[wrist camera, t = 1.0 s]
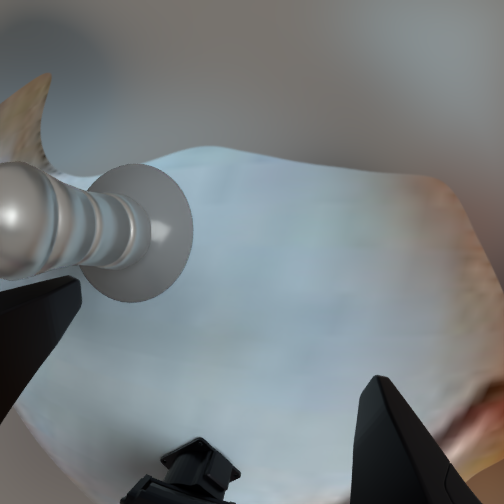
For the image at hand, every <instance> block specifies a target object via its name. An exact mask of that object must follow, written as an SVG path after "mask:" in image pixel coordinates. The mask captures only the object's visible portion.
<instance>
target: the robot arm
mask: <svg viewBox="0 0 504 504" xmlns="http://www.w3.org/2000/svg"><path fill="white" fill-rule="evenodd" d="M81 304H82V296H81V284H80V281H79V280H78V279H76V278H74V277H72V276H69V275H67V276H63V277H59V278H54V279H50V280H46V281H42V282H38V283H34V284H30V285H26V286H21V287H17V288H13V289H9V290H5V291H1V292H0V424H1V423H2V421H3V419H4V418H5V417H6V415H7V414H8V412H9V410H10V409H11V408H12V406H13V405H14V403H15V402H16V400H17V399H18V397H19V396H20V394H21V393H22V391H23V390H24V389H25V387H26V386H27V384H28V383H29V381H30V380H31V379H32V377H33V376H34V375H35V373H36V372H37V370H38V369H39V368H40V366H41V365H42V364H43V362H44V361H45V360H46V358H47V357H48V356H49V354H50V353H51V352H52V350H53V349H54V348H55V346H56V345H57V344H58V342H59V341H60V339H61V338H62V336H63V334H64V333H65V331H66V330H67V328H68V326H69V325H70V323H71V322H72V320H73V319H74V317H75V315H76V314H77V312H78V311H79V309H80V307H81ZM199 442H202V443H199ZM164 460H165V461H164ZM160 461H161V463H162V464H163V465H164V466H165V467H167V468H168V469H169V471H168V473H167V475H166V477H165V479H164V481H160V480H157V479H155V478H152V476H150V475H147V474H146V475H145V476H144V478H141V479H140V480H139V482H138V483H137V484H136V485H135V486H134V487H133V488H132V489H131V490H130V491H129V492H128V494H127V496H125V497H123V498H122V499H121V500H120V504H236V503H234V502H226V501H223V499H224V494H225V491H226V490H227V489H228V485H229V482H232V481H234V480H236V479H238V478H240V476H241V472H240V471H239V470H237V469H236V468H235V467H234V466H233V465H232V464H231V463H230V462H229V461H228V460H227V459H226V458H225V457H223V456H222V455H221V454H220V453H219V452H218V451H216V450H215V449H214V448H213V447H212V446H211V445H210V444H209V443H207V442H206V441H205V440H204V439H203V438H198V439H196V440H194V441H192V442H190V443H188V444H186V445H185V446H183V447H181V448H179V449H177V450H175V451H173V452H171V453H169V454H167V455H165V456H163V457H162V458H161V460H160ZM235 474H237V475H235ZM350 504H482V503H481V502H480V501H479V499H478V498H477V497H476V496H475V495H474V493H473V492H472V491H471V489H470V488H469V487H468V486H467V485H466V483H465V482H464V480H463V479H462V478H461V476H460V475H459V474H458V472H457V471H456V469H455V468H454V467H453V465H452V464H451V463H450V461H449V460H448V458H447V457H446V455H445V454H444V453H443V451H442V450H441V448H440V447H439V446H438V444H437V443H436V441H435V440H434V439H433V437H432V436H431V434H430V433H429V432H428V430H427V429H426V427H425V426H424V425H423V423H422V422H421V421H420V419H419V418H418V417H417V415H416V414H415V412H414V411H413V410H412V408H411V407H410V406H409V404H408V403H407V402H406V400H405V399H404V398H403V396H402V395H401V394H400V392H399V391H398V390H397V388H396V387H395V386H394V384H393V383H392V382H391V380H390V379H389V378H388V377H385V376H380V375H375V376H374V377H373V378H372V379H371V380H370V382H369V383H368V385H367V386H366V388H365V389H364V390H363V392H362V393H361V396H360V399H359V407H358V415H357V423H356V430H355V437H354V446H353V466H352V483H351V497H350Z"/></svg>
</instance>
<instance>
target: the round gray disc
mask: <svg viewBox="0 0 504 504" xmlns="http://www.w3.org/2000/svg"><path fill="white" fill-rule="evenodd" d="M87 191H89V192H96V193H120V194H123V195H126V196H128V197H130V198H132V199H133V200H134V201H136V202H137V203H138V204H139V205H140V206H142V208H143V209H144V210H145V211H146V213H147V215H148V217H149V220H150V224H151V240H150V244H149V247H148V249H147V251H146V253H145V254H144V255H143V257H142V258H141V259H140V260H139V261H137V262H136V263H134V264H132V265H130V266H128V267H126V268H123V269H118V270H112V269H105V268H99V267H96V266H87V265H79V266H80V268H81V270H82V272H83V274H84V275H85V277H86V278H87V279H88V281H89V282H90V283H91V284H92V285H93V286H94V287H95V288H96V289H97V290H98V291H99V292H101V293H102V294H104V295H106V296H107V297H109V298H112V299H114V300H118V301H121V302H141V301H146V300H148V299H151V298H154V297H156V296H158V295H159V294H161V293H163V292H164V291H165V290H167V289H168V288H169V287H170V286H171V285H172V284H173V283H174V282H175V281H176V279H177V278H178V277H179V275H180V274H181V272H182V271H183V269H184V267H185V265H186V263H187V260H188V258H189V254H190V251H191V247H192V241H193V220H192V215H191V210H190V207H189V204H188V201H187V199H186V197H185V195H184V193H183V192H182V190H181V189H180V187H179V186H178V184H177V183H176V182H175V181H174V180H173V179H172V178H171V177H169V176H168V175H167V174H166V173H164V172H162V171H161V170H159V169H157V168H154V167H152V166H148V165H144V164H127V165H123V166H119V167H117V168H114V169H112V170H110V171H108V172H106V173H105V174H103V175H102V176H101V177H99V178H98V179H97V180H96V181H95V182H94V183H93V184H92V185H91V187H90V188H89V189H88V190H87Z"/></svg>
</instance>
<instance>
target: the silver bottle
mask: <svg viewBox="0 0 504 504" xmlns="http://www.w3.org/2000/svg"><path fill="white" fill-rule="evenodd" d="M150 240H151V224H150V220H149V217H148V215H147V213H146V211H145V210H144V209H143V208H142V206H140V205H139V204H138V203H137V202H136V201H134V200H133V199H132V198H130V197H128V196H126V195H123V194H120V193H96V192H89V191H84V190H81V189H78V188H76V187H73V186H71V185H68V184H66V183H63V182H61V181H59V180H58V179H56V178H54V177H52V176H51V175H49V174H47V173H45V172H44V171H42V170H40V169H38V168H37V167H35V166H33V165H30V164H28V163H26V162H21V161H15V162H5V163H1V164H0V278H1V279H4V280H8V281H16V280H21V279H26V278H29V277H32V276H35V275H38V274H41V273H44V272H47V271H50V270H53V269H56V268H62V267H68V266H74V265H87V266H96V267H99V268H105V269H112V270H118V269H123V268H126V267H128V266H130V265H132V264H134V263H136V262H137V261H139V260H140V259H141V258H142V257H143V255H144V254H145V253H146V251H147V249H148V247H149V244H150Z"/></svg>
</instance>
